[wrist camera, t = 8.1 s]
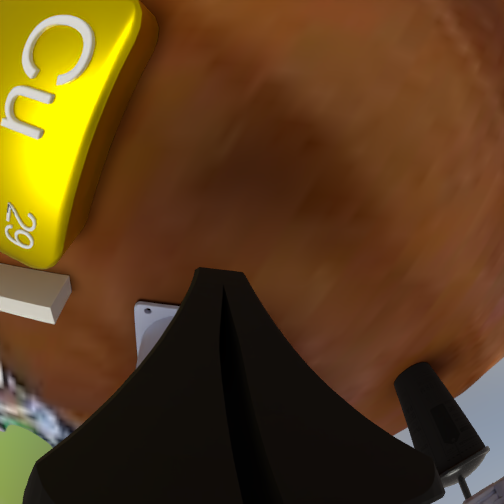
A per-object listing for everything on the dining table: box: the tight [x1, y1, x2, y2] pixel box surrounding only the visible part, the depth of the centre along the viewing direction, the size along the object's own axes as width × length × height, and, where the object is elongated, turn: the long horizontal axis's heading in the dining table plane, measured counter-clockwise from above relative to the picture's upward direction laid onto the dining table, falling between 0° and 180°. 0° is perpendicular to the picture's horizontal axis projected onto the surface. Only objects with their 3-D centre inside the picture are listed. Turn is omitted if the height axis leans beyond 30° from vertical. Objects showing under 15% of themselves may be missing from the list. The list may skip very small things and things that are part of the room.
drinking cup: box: [394, 362, 490, 500], centre depth 21 cm, size 8×8×20 cm
